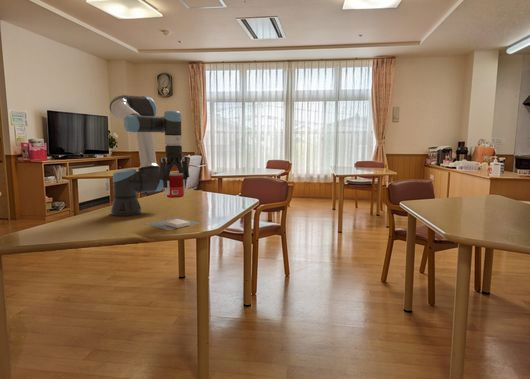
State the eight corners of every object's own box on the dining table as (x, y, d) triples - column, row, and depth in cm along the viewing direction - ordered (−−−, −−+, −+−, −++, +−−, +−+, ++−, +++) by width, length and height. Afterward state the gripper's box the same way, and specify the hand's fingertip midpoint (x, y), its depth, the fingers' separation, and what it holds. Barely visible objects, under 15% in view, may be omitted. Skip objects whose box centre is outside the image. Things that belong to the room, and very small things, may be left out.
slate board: (145, 226, 168) (144, 223, 167) (177, 220, 181) (177, 217, 181) (168, 233, 156) (168, 230, 156) (201, 225, 170) (201, 223, 169)
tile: (164, 221, 165) (176, 224, 159) (177, 219, 170) (189, 221, 164) (164, 225, 165) (177, 228, 159) (177, 222, 170) (190, 225, 165)
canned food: (187, 196, 175) (186, 173, 173) (174, 198, 168) (173, 174, 167) (176, 194, 179) (175, 172, 178) (163, 197, 173) (162, 173, 171)
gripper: (158, 145, 160) (160, 197, 163) (196, 144, 176) (197, 192, 179) (149, 145, 165) (151, 195, 168) (186, 144, 181) (187, 190, 184)
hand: (175, 193), depth 174 cm, fingers closed on canned food, 8 cm apart
